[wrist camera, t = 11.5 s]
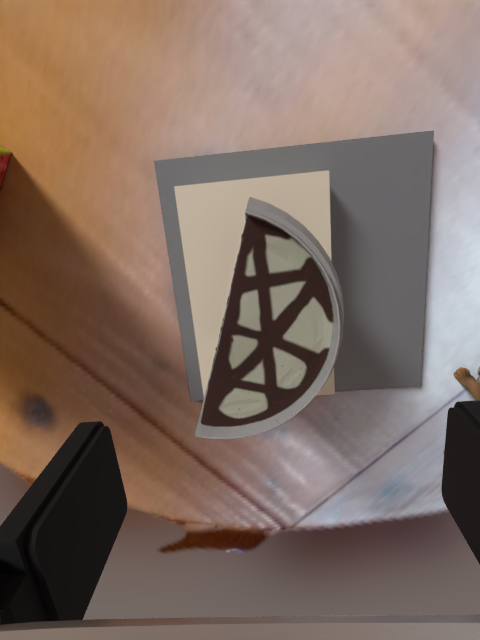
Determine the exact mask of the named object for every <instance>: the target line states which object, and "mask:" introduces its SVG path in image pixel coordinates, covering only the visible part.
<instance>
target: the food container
mask: <svg viewBox="0 0 480 640" xmlns="http://www.w3.org/2000/svg"><path fill="white" fill-rule="evenodd" d="M245 220H246V221H245V226H244V230H243V234H242V235H241V243H240V248H239V252H238V255H237V261H236V264H235V268H234V274H233V278H232V283H231V287H230V291H229V296H228V299H227V303H226V309H225V313H224V318H223V322H222V327H221V328H220V334H219V340H218V344H217V347H216V348H215V350H216V352H215V356H214V359H213V364H212V368H211V372H210V376H209V380H208V384H207V388H206V392H205V396H204V400H203V404H202V408H201V412H200V416H199V420H198V424H197V428H196V432H195V436H194V437H201V438H208V439H233V438H242V437H248V436H251V435H255V434H259V433H263V432H265V431H267V430H270V429H272V428H274V427H277V426H279V425H281V424H282V423H284V422H286V421H287V420H289V419H291V418H292V417H294V416H295V415H296V414H297V413H299V412H300V411H301V410H302V409H303V408H305V407H306V406H307V405H308V404H309V403H310V401H311V400H312V399H313V398H314V397H315V396H316V395H317V393H318V392H319V391H320V390H321V388H322V387H323V385H324V384H325V382H326V381H327V379H328V378H329V376H330V374H331V372H332V370H333V368H334V365H335V363H336V361H337V359H338V355H339V351H340V347H341V343H342V338H343V326H344V306H343V296H342V290H341V287H340V283H339V279H338V276H337V273H336V271H335V269H334V266H333V264H332V262H331V260H330V258H329V256H328V254H327V253H326V251H325V250H324V249H323V247H322V246H321V244H320V243H319V241H318V240H317V239H316V238H315V237H314V236H313V235H312V233H311V232H310V231H309V230H308V229H307V228H306V227H305V226H304V225H303V224H301V223H300V222H299V221H297V220H296V219H295V218H293V217H292V216H291V215H289V214H288V213H287V212H285V211H283V210H281V209H279V208H277V207H275V206H273V205H271V204H269V203H267V202H264V201H261V200H258V199H255V198H252V197H249V200H248V203H247V207H246V211H245Z"/></svg>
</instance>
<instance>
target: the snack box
mask: <svg viewBox="0 0 480 640" xmlns="http://www.w3.org/2000/svg"><path fill="white" fill-rule="evenodd" d="M10 153H11V152H10V151H8V150H6V149H4V148H2V147H0V189H1V185H2V182H3V178H4V175H5V171H6V167H7V164H8V160H9V157H10Z"/></svg>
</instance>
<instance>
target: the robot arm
mask: <svg viewBox="0 0 480 640" xmlns="http://www.w3.org/2000/svg"><path fill="white" fill-rule="evenodd" d="M442 496H443V500H444V502H445V504H446V506H447V508H448V510H449V511H450V513H451V515H452V517H453V518H454V520H455V522H456V524H457V525H458V527H459V529H460V531H461V532H462V534H463V536H464V538H465V539H466V541H467V543H468V545H469V546H470V548H471V550H472V552H473V553H474V555H475V557H476V559H477V560H478V562H479V564H480V401H462V402H457V403H456V404H455V406H454V408H449V410H448V417H447V429H446V441H445V453H444V465H443V478H442ZM126 512H127V499H126V495H125V490H124V486H123V482H122V478H121V473H120V469H119V465H118V461H117V457H116V452H115V448H114V444H113V440H112V436H111V431H110V429H109V427H107V426H104V424H103V423H102V422H82V423H80V424H79V425H78V426H77V427H76V428H75V430H74V431H73V432H72V433H71V435H70V436H69V437H68V439H67V440H66V441H65V443H64V444H63V445H62V446H61V448H60V449H59V450H58V452H57V453H56V454H55V456H54V457H53V458H52V460H51V461H50V462H49V463H48V465H47V466H46V467H45V469H44V470H43V471H42V473H41V474H40V475H39V476H38V478H37V479H36V480H35V482H34V483H33V484H32V486H31V487H30V488H29V490H28V491H27V492H26V493H25V495H24V496H23V497H22V499H21V500H20V502H19V503H18V504H17V505H16V506H15V508H14V509H13V510H12V512H11V513H10V514H9V516H8V517H7V518H6V520H5V521H4V522H3V524H2V525H1V526H0V640H480V615H358V616H357V615H353V616H352V615H351V616H350V615H347V616H266V617H264V616H263V617H198V618H197V617H196V618H144V619H98V620H82V619H83V617H84V614H85V612H86V610H87V607H88V605H89V603H90V600H91V598H92V595H93V593H94V590H95V588H96V585H97V583H98V581H99V578H100V576H101V574H102V571H103V569H104V566H105V564H106V561H107V559H108V556H109V554H110V552H111V549H112V547H113V544H114V542H115V540H116V537H117V535H118V532H119V530H120V528H121V525H122V523H123V520H124V518H125V515H126Z"/></svg>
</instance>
